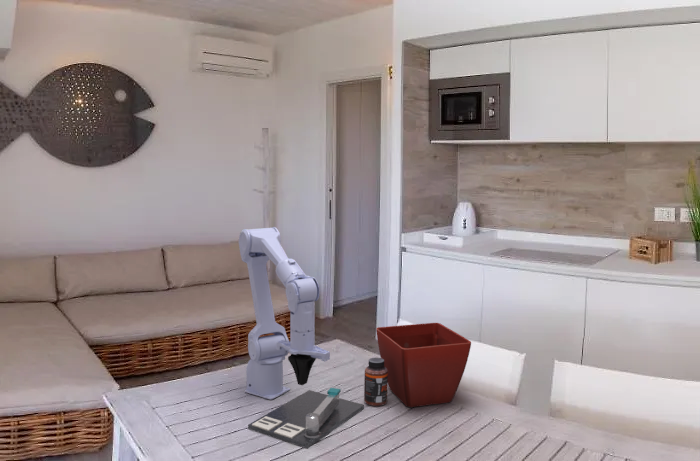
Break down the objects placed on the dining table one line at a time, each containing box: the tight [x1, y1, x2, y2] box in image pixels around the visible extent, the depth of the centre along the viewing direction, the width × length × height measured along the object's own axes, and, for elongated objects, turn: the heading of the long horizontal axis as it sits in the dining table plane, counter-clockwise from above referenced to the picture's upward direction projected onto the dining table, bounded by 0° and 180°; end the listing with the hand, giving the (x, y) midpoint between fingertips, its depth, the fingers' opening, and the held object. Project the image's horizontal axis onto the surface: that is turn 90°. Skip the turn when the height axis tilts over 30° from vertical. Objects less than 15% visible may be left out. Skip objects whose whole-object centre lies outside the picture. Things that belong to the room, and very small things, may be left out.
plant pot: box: [375, 322, 472, 408], centre depth 155 cm, size 19×19×17 cm
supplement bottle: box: [363, 357, 388, 407], centre depth 151 cm, size 6×6×11 cm
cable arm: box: [313, 387, 342, 428], centre depth 140 cm, size 14×3×4 cm, turn 162°
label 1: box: [252, 416, 283, 431], centre depth 137 cm, size 5×5×1 cm
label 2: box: [274, 423, 305, 438], centre depth 134 cm, size 5×5×1 cm
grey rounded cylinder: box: [304, 413, 321, 439], centre depth 132 cm, size 4×4×4 cm
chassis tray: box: [247, 389, 365, 449], centre depth 142 cm, size 17×24×1 cm
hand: (302, 383), depth 141 cm, fingers closed
